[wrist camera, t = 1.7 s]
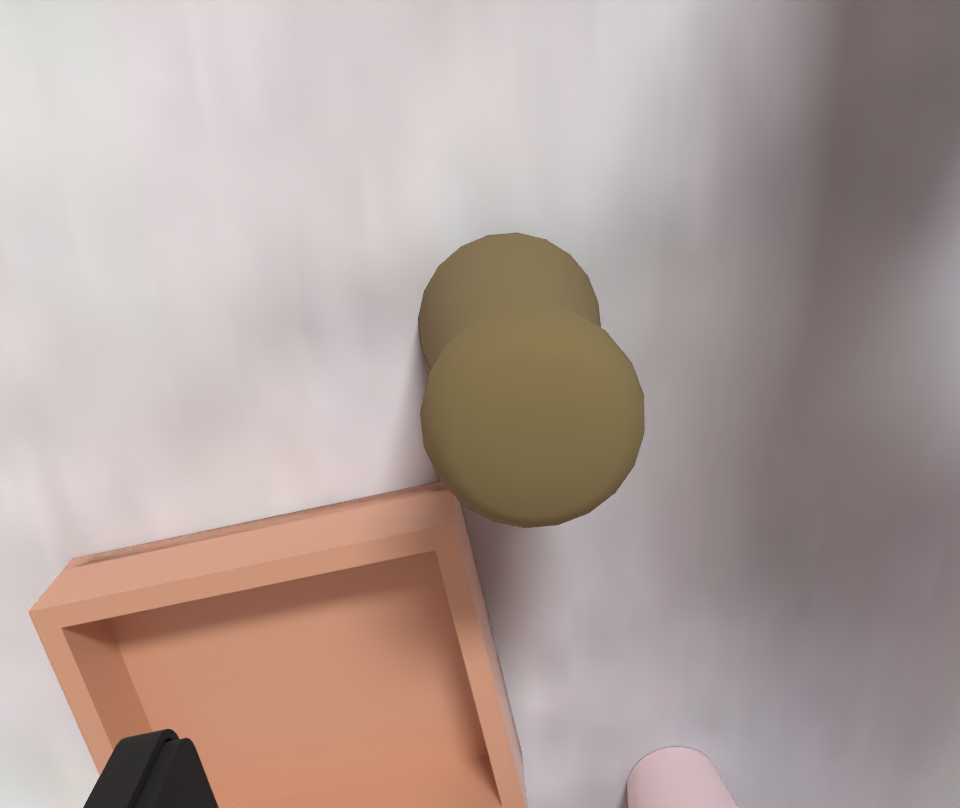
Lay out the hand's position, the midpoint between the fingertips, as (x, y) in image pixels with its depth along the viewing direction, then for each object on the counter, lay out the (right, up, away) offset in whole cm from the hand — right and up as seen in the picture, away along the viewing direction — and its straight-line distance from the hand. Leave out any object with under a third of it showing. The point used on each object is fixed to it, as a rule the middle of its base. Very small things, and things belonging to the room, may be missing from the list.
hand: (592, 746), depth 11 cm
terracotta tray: (-8, -6, +23) cm, 25 cm away
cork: (0, +7, +19) cm, 20 cm away
